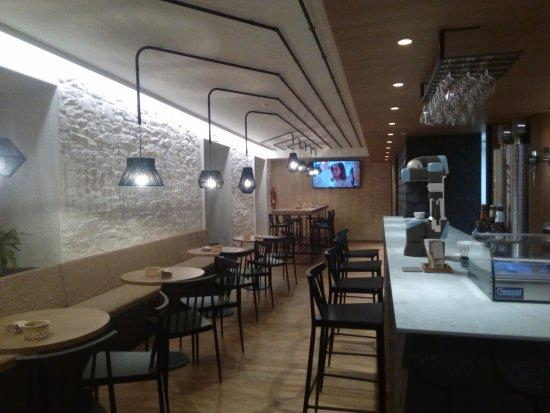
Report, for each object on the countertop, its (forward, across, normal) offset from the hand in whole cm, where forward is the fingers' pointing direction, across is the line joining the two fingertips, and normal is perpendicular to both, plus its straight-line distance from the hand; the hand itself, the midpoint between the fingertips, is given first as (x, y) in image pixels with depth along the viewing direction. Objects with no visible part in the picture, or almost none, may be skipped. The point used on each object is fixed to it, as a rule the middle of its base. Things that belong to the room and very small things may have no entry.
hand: (436, 230), depth 232 cm
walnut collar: (+22, 0, 0) cm, 22 cm away
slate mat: (+22, 0, -13) cm, 25 cm away
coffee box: (+22, 0, 0) cm, 22 cm away
